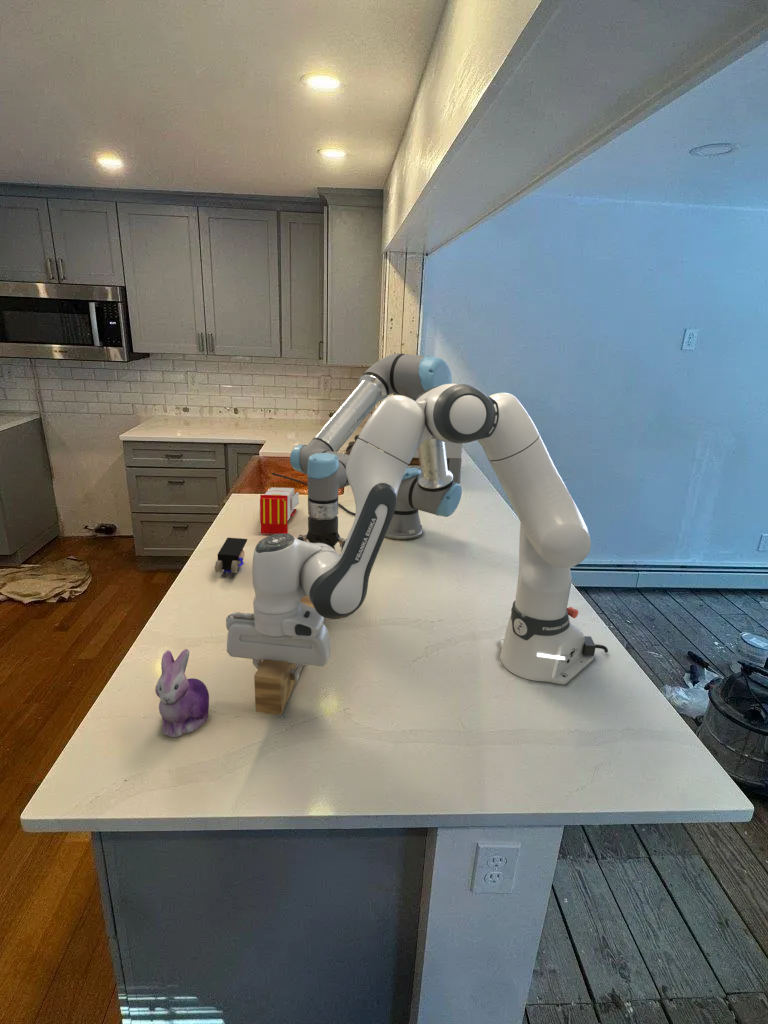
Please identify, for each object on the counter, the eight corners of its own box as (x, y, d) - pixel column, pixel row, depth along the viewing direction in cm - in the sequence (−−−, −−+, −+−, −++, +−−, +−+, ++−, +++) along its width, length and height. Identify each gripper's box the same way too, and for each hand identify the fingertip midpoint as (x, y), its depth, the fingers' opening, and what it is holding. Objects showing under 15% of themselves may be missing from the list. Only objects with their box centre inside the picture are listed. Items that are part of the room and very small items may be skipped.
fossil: (345, 440, 316) (366, 424, 311) (356, 453, 319) (377, 438, 314) (339, 453, 297) (361, 437, 292) (350, 467, 300) (373, 452, 295)
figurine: (162, 747, 100) (154, 675, 95) (155, 711, 109) (147, 644, 103) (217, 731, 104) (212, 662, 99) (206, 698, 113) (201, 633, 108)
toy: (300, 483, 219) (290, 497, 190) (300, 516, 222) (290, 535, 192) (269, 482, 219) (254, 495, 189) (269, 515, 221) (254, 534, 192)
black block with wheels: (238, 584, 162) (249, 557, 175) (236, 562, 158) (247, 536, 172) (215, 584, 161) (227, 556, 175) (212, 561, 158) (225, 535, 171)
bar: (320, 586, 157) (320, 559, 155) (338, 588, 157) (338, 561, 154) (255, 711, 108) (254, 675, 105) (281, 714, 108) (280, 678, 105)
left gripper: (283, 517, 139) (285, 601, 147) (356, 523, 137) (354, 608, 145) (292, 507, 146) (293, 587, 154) (361, 513, 144) (359, 594, 152)
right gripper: (219, 619, 107) (223, 681, 112) (325, 630, 105) (325, 692, 109) (231, 603, 113) (235, 662, 117) (332, 613, 111) (332, 673, 115)
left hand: (323, 597), depth 150 cm, fingers closed on bar, 5 cm apart
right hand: (279, 677), depth 113 cm, fingers closed on bar, 5 cm apart
